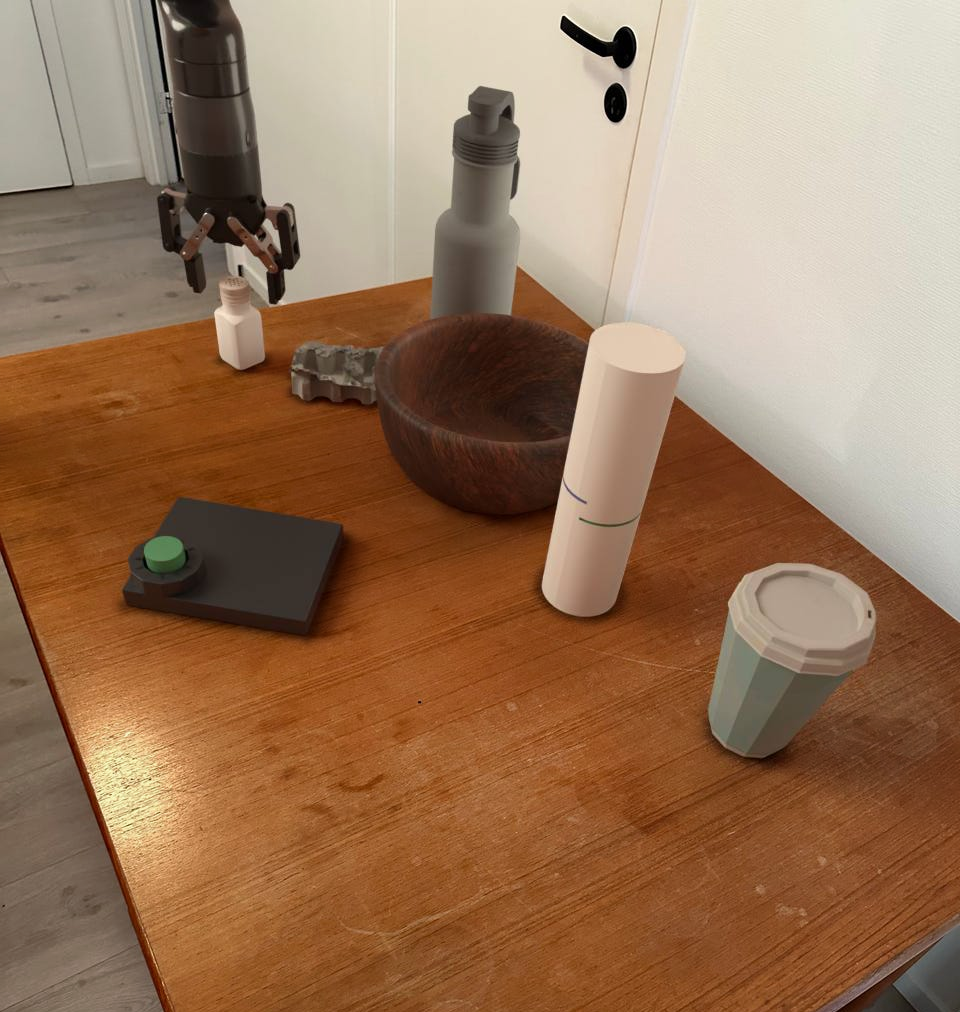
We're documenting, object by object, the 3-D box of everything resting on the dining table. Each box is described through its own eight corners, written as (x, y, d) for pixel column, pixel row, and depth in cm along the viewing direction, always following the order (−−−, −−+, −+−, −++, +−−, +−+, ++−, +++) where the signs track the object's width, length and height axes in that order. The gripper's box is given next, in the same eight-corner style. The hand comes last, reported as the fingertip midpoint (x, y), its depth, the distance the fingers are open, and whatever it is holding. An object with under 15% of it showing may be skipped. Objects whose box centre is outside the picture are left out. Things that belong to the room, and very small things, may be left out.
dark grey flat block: (124, 605, 78) (116, 576, 75) (180, 511, 87) (174, 482, 84) (306, 636, 77) (303, 608, 75) (343, 538, 86) (342, 510, 83)
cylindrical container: (576, 553, 88) (630, 313, 69) (632, 593, 85) (705, 353, 66) (526, 585, 84) (569, 340, 66) (583, 628, 81) (645, 384, 62)
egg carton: (287, 400, 101) (284, 368, 98) (298, 365, 106) (295, 333, 103) (382, 409, 101) (382, 376, 98) (388, 373, 106) (388, 341, 103)
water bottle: (442, 316, 116) (458, 70, 96) (515, 332, 115) (547, 87, 95) (418, 354, 110) (430, 98, 89) (495, 371, 109) (525, 117, 88)
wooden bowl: (595, 554, 88) (616, 469, 80) (346, 509, 89) (344, 420, 81) (612, 414, 105) (631, 333, 97) (403, 377, 106) (406, 294, 98)
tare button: (141, 570, 76) (137, 557, 75) (155, 546, 79) (152, 533, 77) (177, 577, 76) (174, 563, 75) (191, 552, 78) (188, 539, 77)
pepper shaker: (218, 359, 105) (207, 280, 98) (245, 347, 107) (237, 270, 100) (239, 373, 103) (230, 294, 96) (267, 361, 105) (260, 284, 98)
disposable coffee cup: (675, 758, 72) (731, 632, 61) (690, 663, 79) (742, 534, 68) (807, 795, 71) (889, 672, 60) (810, 694, 78) (883, 569, 67)
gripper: (300, 134, 90) (309, 289, 102) (161, 114, 90) (187, 271, 102) (277, 162, 85) (290, 322, 97) (131, 140, 85) (162, 302, 97)
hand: (237, 295), depth 99 cm, fingers open, 8 cm apart
